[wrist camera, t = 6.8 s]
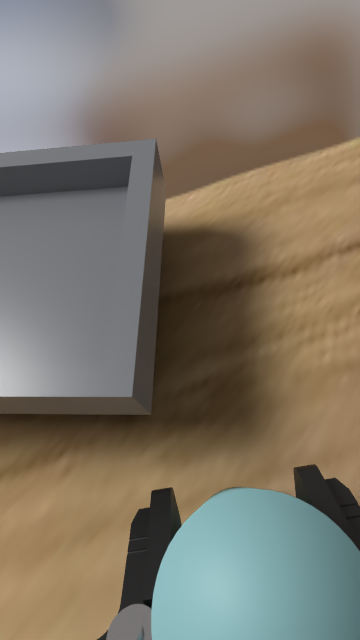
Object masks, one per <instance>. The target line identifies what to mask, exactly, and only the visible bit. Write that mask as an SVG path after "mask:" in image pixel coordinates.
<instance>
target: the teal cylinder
mask: <svg viewBox="0 0 360 640" xmlns="http://www.w3.org/2000/svg"><path fill="white" fill-rule="evenodd" d="M151 634H152V640H360V551H359V550H358V549H357V547H356V546H355V545H354V543H353V542H352V541H351V539H350V538H349V537H348V536H347V535H346V534H345V533H344V532H343V531H342V530H341V528H340V527H339V526H337V525H336V524H335V523H334V522H333V521H332V520H331V519H330V518H328V517H327V516H326V515H325V514H323V513H322V512H320V511H319V510H317V509H316V508H315V507H313V506H311V505H309V504H308V503H306V502H304V501H302V500H300V499H298V498H295V497H293V496H290V495H287V494H284V493H280V492H276V491H272V490H263V489H254V488H245V487H232V488H227V489H224V490H222V491H220V492H218V493H216V494H215V495H213V496H212V497H211V498H210V499H209V500H208V501H206V502H205V503H204V504H203V505H202V506H201V507H200V508H199V509H198V510H197V511H195V512H194V513H193V514H192V515H191V516H190V517H189V518H188V519H187V520H186V521H185V523H184V524H183V525H182V526H181V528H180V529H179V530H178V531H177V533H176V534H175V536H174V538H173V539H172V541H171V543H170V544H169V546H168V548H167V550H166V553H165V555H164V557H163V559H162V562H161V565H160V568H159V571H158V574H157V578H156V583H155V587H154V592H153V601H152V610H151Z"/></svg>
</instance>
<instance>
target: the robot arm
mask: <svg viewBox="0 0 360 640" xmlns="http://www.w3.org/2000/svg"><path fill="white" fill-rule="evenodd" d="M294 480H295V490H296V498H298V499H300V500H302V501H304V502H306V503H308V504H309V505H311V506H313V507H315V508H316V509H317V510H319V511H320V512H322V513H323V514H325V515H326V516H327V517H328V518H330V519H331V520H332V521H333V522H334V523H335V524H336V525H337V526H339V527H340V528H341V530H342V531H343V532H344V533H345V534H346V535H347V536H348V537H349V538H350V539H351V541H352V542H353V543H354V545H355V546H356V547H357V549H358V550H359V551H360V506H359V505H358V503H357V501H356V499H355V498H354V496H353V495H352V493H351V491H350V490H349V489H348V488H347V487H346V486H345V485H343V484H342V483H341V482H340V481H339V480H337V479H336V478H331V479H325V480H324V478H323V476H322V474H321V473H320V471H319V469H318V467H317V466H316V465H315V464H313V465H307V466H301V467H295V468H294ZM181 526H182V525H181V519H180V515H179V511H178V507H177V503H176V499H175V495H174V491H173V488H172V487H171V488H165V489H159V490H153V491H152V493H151V503H150V508H144V509H139V510H138V512H137V514H136V516H135V518H134V519H133V521H132V523H131V530H130V538H129V539H130V542H129V545H128V555H127V560H126V568H125V575H124V583H123V590H122V598H121V604H120V609H119V612H118V614H117V615H116V617H115V618H114V620H113V621H112V623H111V625H110V627H109V630H108V631H107V632H106V633H105V634H104V635H103V636H101V637H100V638H99V639H97V640H152V634H151V610H152V601H153V592H154V587H155V583H156V578H157V574H158V571H159V568H160V565H161V562H162V559H163V557H164V555H165V553H166V550H167V548H168V546H169V544H170V543H171V541H172V539H173V538H174V536H175V534H176V533H177V531H178V530H179V529H180V528H181Z"/></svg>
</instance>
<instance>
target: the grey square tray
mask: <svg viewBox="0 0 360 640" xmlns="http://www.w3.org/2000/svg"><path fill="white" fill-rule="evenodd" d="M165 198H166V187H165V182H164V176H163V172H162V166H161V161H160V156H159V151H158V147H157V142H156V139H147V140H137V141H126V142H115V143H104V144H94V145H83V146H72V147H62V148H51V149H40V150H30V151H18V152H7V153H0V414H102V415H151V409H152V394H153V379H154V364H155V349H156V334H157V319H158V304H159V289H160V274H161V259H162V244H163V229H164V214H165Z"/></svg>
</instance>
